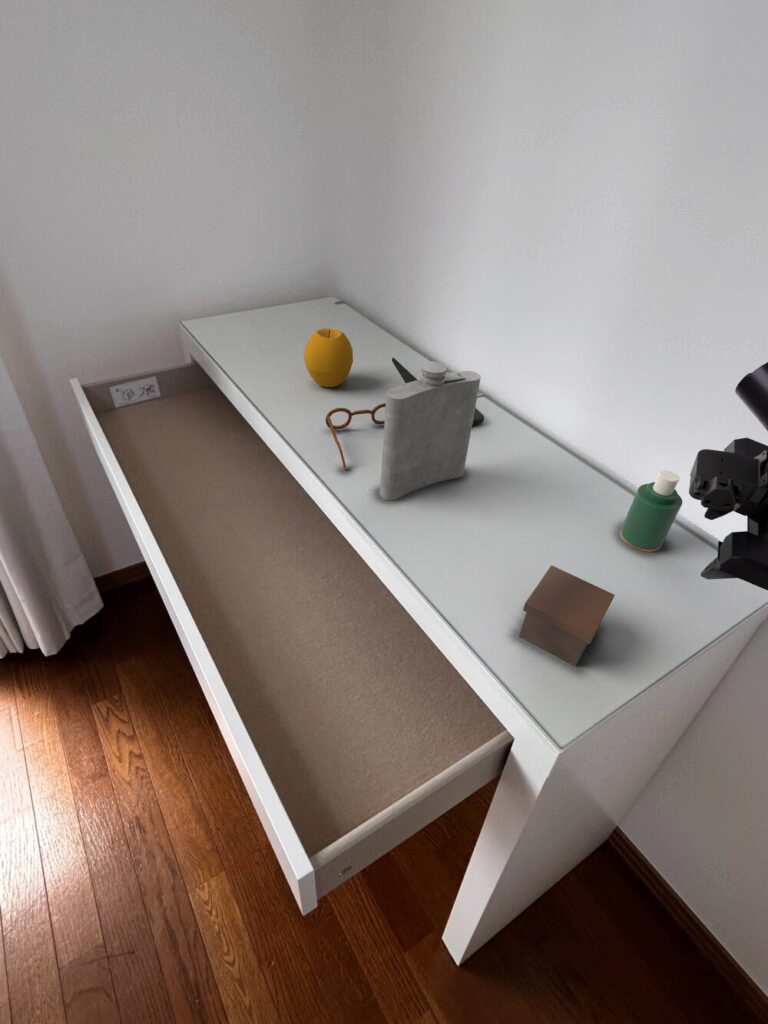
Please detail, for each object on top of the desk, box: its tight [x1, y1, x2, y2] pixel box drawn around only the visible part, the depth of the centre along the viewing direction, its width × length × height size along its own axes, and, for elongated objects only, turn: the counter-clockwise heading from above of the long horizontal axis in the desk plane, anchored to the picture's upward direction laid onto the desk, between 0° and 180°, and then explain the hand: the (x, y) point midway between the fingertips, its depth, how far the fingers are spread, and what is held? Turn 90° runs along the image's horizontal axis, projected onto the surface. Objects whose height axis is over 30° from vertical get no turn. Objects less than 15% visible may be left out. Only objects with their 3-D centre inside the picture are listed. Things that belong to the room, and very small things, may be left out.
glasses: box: [325, 402, 386, 471], centre depth 98 cm, size 13×13×5 cm
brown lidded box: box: [518, 565, 616, 667], centre depth 68 cm, size 8×8×6 cm
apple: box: [303, 327, 354, 388], centre depth 113 cm, size 10×10×12 cm
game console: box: [391, 357, 485, 426], centre depth 108 cm, size 16×14×9 cm
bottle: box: [620, 469, 683, 550], centre depth 81 cm, size 6×6×11 cm
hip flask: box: [379, 361, 482, 501], centre depth 86 cm, size 16×4×20 cm, turn 122°
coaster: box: [619, 530, 663, 553], centre depth 85 cm, size 6×6×1 cm
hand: (706, 546), depth 69 cm, fingers open, 9 cm apart
